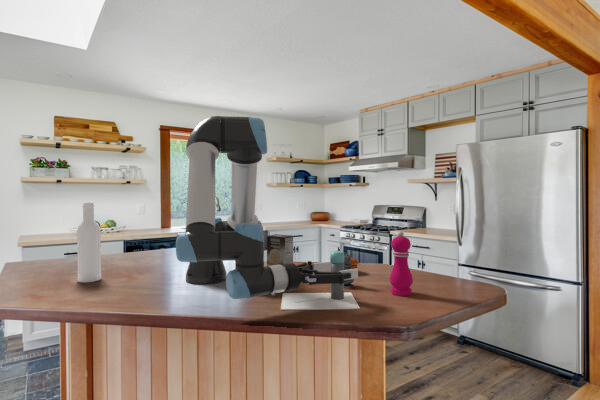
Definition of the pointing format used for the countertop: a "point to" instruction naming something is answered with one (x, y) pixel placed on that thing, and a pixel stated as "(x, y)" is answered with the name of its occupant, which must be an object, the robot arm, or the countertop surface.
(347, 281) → the chess piece
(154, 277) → the countertop surface
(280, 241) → the coffee box
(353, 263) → the hamburger
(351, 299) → the paper
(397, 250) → the pepper mill
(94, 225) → the bottle
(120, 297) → the countertop surface
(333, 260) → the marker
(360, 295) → the countertop surface
